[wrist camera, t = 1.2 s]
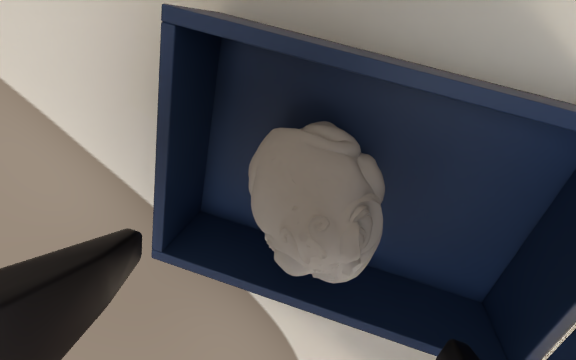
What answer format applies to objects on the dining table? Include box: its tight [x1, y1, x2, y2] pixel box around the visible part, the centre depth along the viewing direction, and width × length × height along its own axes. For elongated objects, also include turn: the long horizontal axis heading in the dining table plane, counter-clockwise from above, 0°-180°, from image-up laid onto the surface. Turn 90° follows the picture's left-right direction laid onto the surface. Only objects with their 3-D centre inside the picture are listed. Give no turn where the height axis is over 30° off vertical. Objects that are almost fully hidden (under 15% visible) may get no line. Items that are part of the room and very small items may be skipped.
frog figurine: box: [248, 121, 385, 283], centre depth 15 cm, size 6×7×7 cm
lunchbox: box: [152, 4, 576, 360], centre depth 16 cm, size 19×12×5 cm, turn 77°
